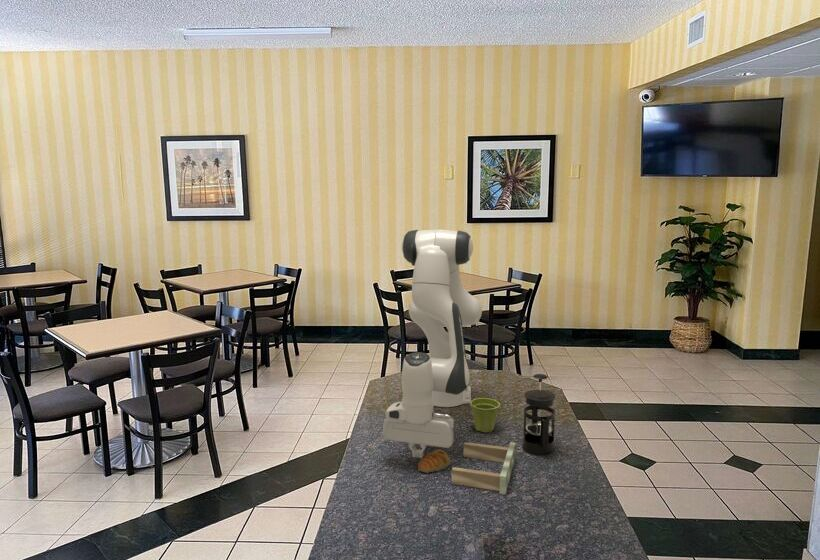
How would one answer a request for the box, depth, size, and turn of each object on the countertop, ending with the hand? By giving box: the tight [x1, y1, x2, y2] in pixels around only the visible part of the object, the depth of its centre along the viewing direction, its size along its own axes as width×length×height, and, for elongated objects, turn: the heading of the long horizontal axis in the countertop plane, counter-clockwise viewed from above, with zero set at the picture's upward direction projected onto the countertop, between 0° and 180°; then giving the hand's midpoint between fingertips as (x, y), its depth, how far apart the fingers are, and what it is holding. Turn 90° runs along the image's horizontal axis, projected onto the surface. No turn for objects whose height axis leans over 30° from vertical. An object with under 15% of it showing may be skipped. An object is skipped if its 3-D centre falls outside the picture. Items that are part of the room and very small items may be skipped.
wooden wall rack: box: [451, 441, 516, 495], centre depth 164 cm, size 20×14×5 cm
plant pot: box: [469, 397, 501, 433], centre depth 191 cm, size 9×9×9 cm
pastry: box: [417, 449, 451, 474], centre depth 167 cm, size 9×7×4 cm
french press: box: [522, 373, 556, 457], centre depth 175 cm, size 12×9×23 cm
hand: (418, 456), depth 169 cm, fingers closed
